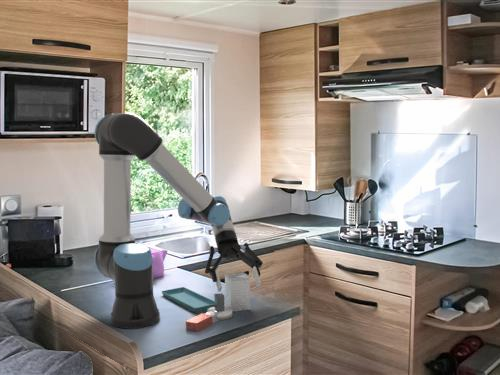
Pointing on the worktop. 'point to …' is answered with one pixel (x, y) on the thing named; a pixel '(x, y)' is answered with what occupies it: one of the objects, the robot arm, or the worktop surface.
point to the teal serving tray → (189, 299)
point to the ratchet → (210, 315)
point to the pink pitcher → (158, 262)
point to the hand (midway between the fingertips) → (239, 287)
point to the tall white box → (237, 291)
